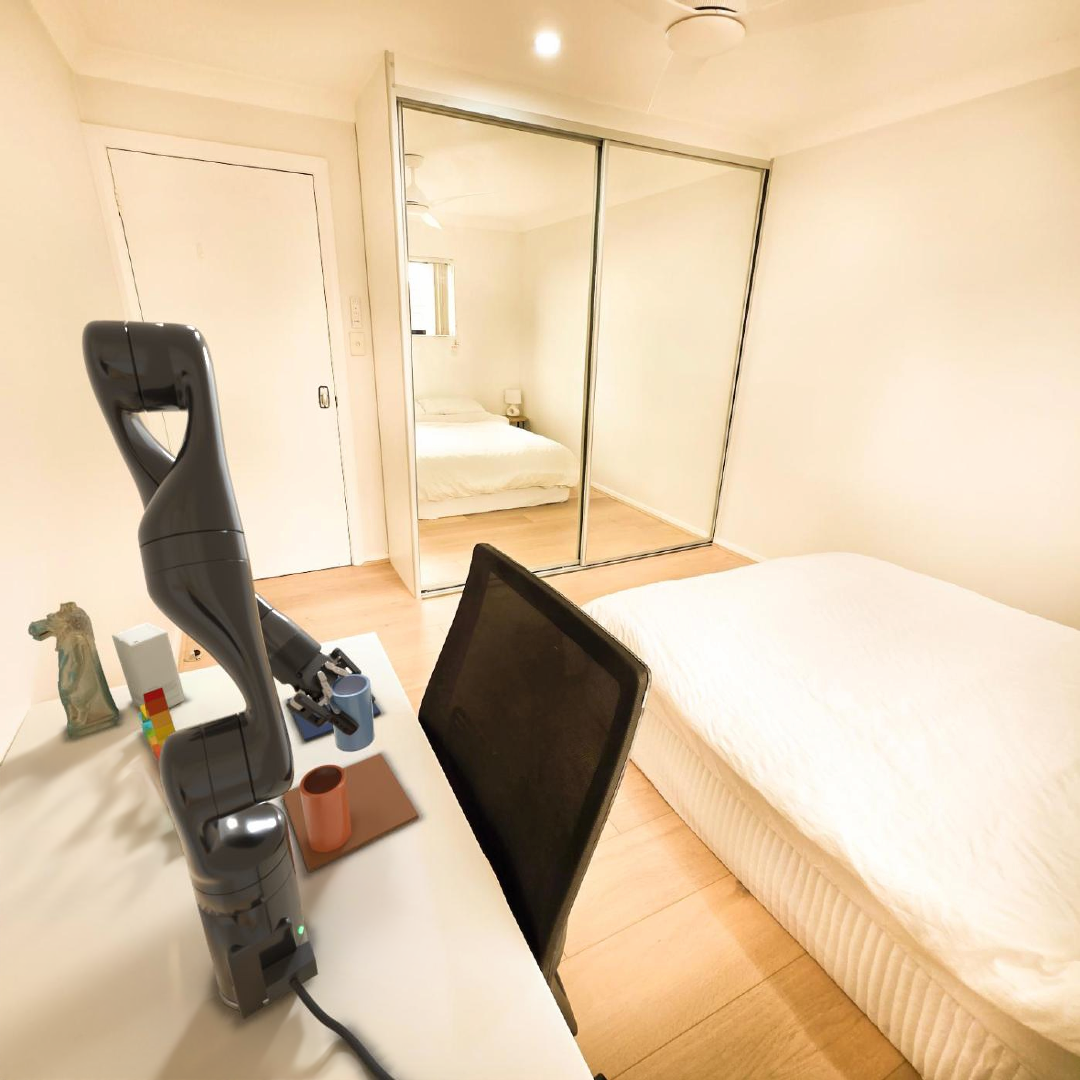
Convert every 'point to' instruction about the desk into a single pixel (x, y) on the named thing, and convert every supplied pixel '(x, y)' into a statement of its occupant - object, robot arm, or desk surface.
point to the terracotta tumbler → (326, 808)
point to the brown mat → (359, 809)
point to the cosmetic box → (148, 663)
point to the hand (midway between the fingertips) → (363, 716)
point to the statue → (78, 670)
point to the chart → (156, 719)
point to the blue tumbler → (354, 711)
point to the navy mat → (312, 731)
